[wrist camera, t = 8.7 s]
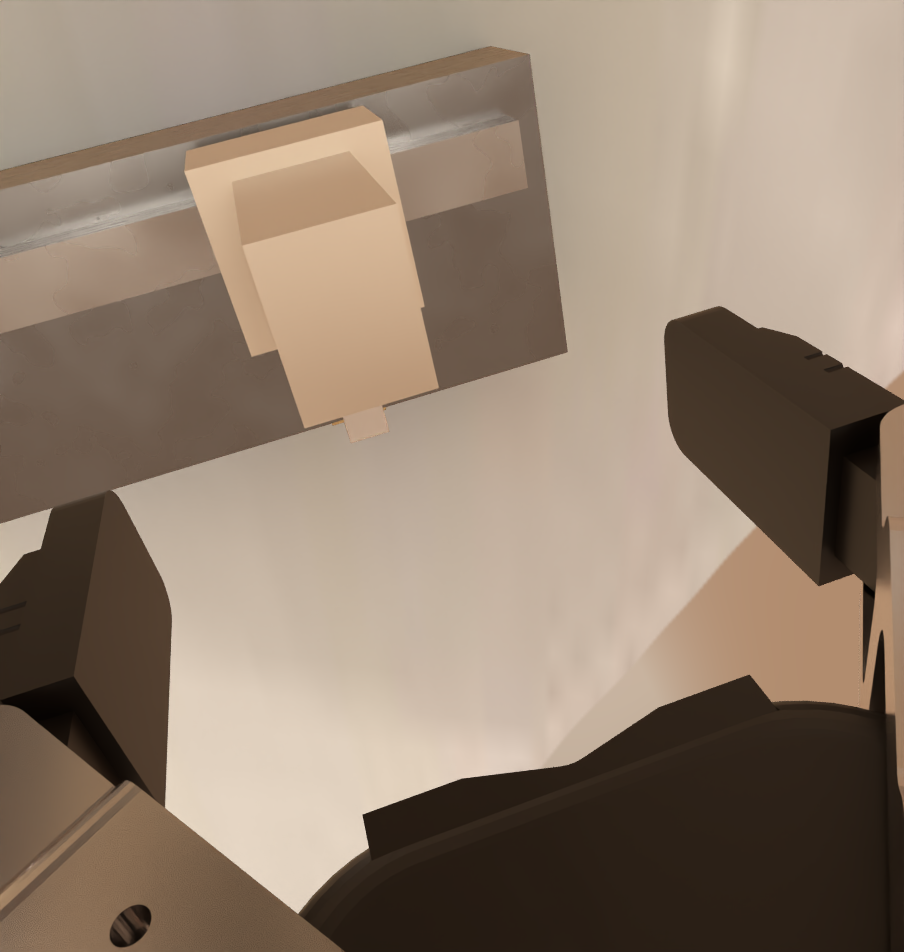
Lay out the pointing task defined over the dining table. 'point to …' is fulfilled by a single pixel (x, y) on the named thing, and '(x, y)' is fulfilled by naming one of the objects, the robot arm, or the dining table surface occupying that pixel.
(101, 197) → the hole bar
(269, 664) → the dining table surface
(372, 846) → the robot arm
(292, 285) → the tan slider handle
